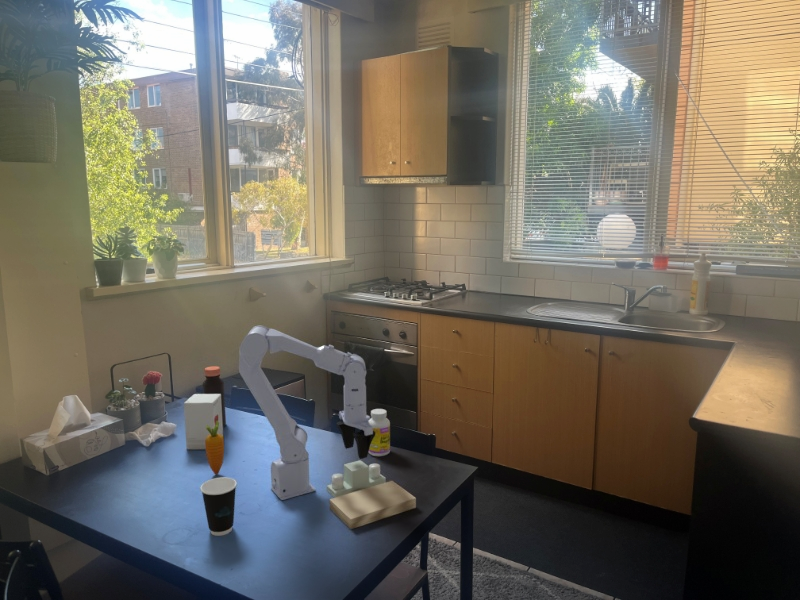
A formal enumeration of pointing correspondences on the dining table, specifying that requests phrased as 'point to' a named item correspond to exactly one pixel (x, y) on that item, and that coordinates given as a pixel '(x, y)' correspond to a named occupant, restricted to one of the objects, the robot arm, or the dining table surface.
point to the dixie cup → (219, 504)
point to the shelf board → (372, 504)
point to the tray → (355, 478)
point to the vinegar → (215, 386)
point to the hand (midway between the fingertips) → (356, 452)
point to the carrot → (214, 448)
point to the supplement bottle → (380, 433)
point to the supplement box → (202, 418)
